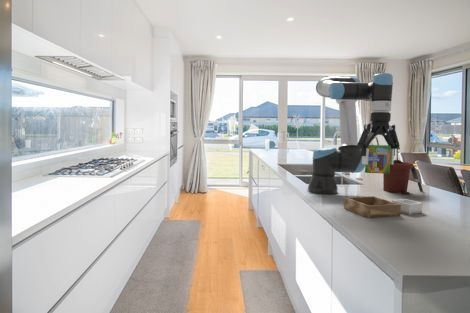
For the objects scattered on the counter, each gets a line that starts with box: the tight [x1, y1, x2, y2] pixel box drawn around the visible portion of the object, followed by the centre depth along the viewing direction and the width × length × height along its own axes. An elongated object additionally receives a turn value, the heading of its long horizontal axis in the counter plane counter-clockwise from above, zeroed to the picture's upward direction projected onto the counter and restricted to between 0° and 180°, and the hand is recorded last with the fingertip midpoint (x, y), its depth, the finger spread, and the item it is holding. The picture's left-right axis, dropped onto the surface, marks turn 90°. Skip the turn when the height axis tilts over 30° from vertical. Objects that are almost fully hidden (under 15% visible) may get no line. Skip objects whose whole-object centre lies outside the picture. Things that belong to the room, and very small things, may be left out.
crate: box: [343, 195, 401, 219], centre depth 129 cm, size 15×15×4 cm
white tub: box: [391, 198, 423, 215], centre depth 132 cm, size 8×8×4 cm
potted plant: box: [382, 146, 424, 196], centre depth 174 cm, size 18×22×25 cm
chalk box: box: [364, 136, 391, 174], centre depth 132 cm, size 9×9×15 cm
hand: (377, 164), depth 133 cm, fingers closed on chalk box, 12 cm apart
